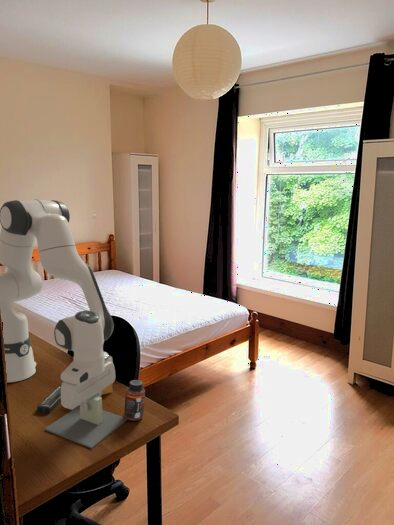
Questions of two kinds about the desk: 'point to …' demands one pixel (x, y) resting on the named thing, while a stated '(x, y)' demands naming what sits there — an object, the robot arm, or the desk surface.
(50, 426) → the mat
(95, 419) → the tile
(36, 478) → the desk surface
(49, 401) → the multiport hub
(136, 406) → the supplement bottle
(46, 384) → the desk surface
